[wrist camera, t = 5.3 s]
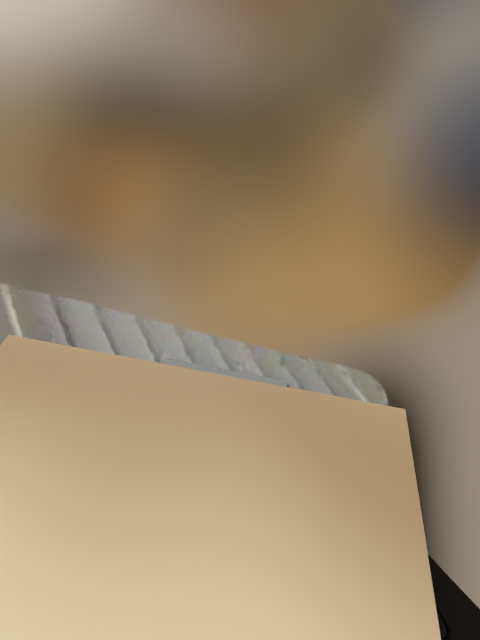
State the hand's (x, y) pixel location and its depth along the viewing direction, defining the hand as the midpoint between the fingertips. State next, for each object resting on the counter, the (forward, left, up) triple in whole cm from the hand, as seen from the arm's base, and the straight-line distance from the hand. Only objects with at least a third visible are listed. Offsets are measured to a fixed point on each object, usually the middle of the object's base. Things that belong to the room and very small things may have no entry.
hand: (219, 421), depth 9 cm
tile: (-1, 0, -6) cm, 6 cm away
